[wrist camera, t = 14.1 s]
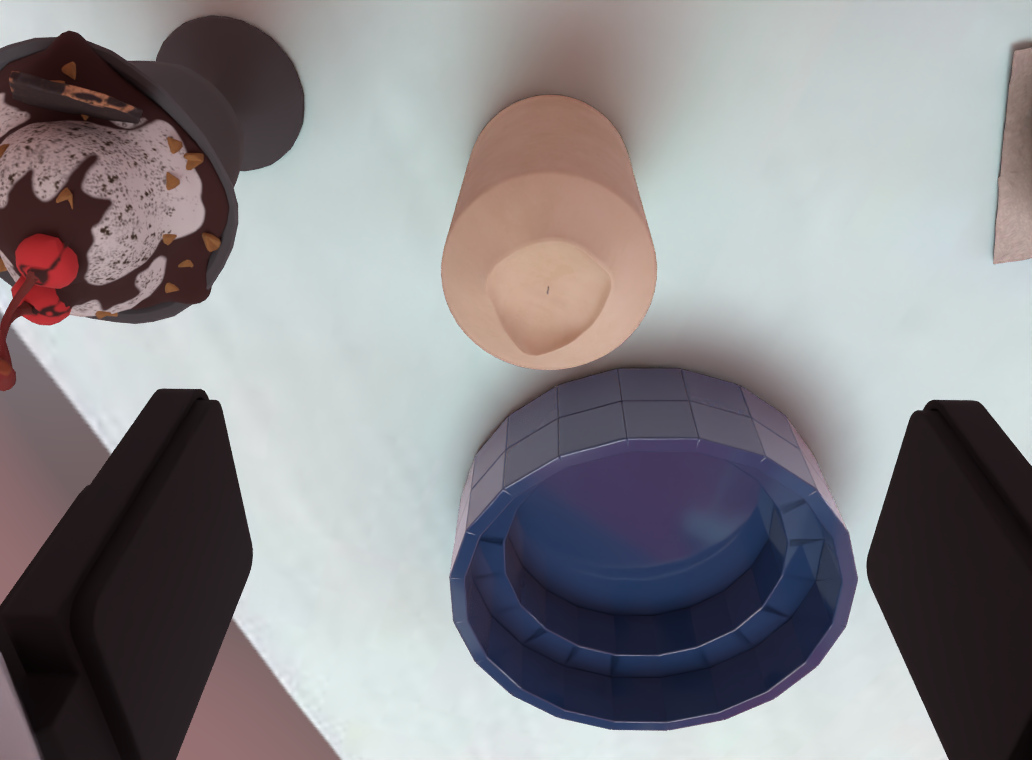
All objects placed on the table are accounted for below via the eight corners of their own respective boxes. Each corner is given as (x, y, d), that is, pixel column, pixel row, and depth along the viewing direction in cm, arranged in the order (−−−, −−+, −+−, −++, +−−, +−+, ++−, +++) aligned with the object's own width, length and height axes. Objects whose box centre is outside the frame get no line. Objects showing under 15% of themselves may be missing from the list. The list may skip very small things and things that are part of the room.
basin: (397, 544, 38) (378, 630, 34) (606, 292, 31) (615, 359, 27) (661, 682, 42) (674, 775, 38) (896, 486, 35) (945, 571, 31)
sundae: (234, 231, 30) (2, 493, 17) (86, 72, 28) (-316, 244, 15) (372, 122, 28) (224, 330, 15) (226, -62, 26) (-102, 3, 13)
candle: (588, 273, 31) (602, 427, 22) (445, 215, 30) (403, 354, 21) (658, 132, 28) (706, 246, 19) (504, 64, 27) (484, 152, 19)
